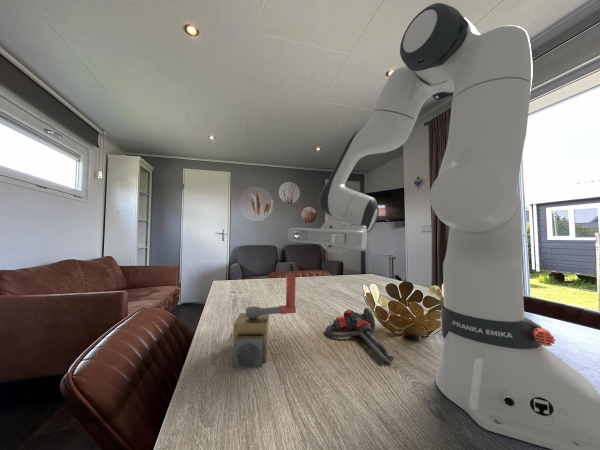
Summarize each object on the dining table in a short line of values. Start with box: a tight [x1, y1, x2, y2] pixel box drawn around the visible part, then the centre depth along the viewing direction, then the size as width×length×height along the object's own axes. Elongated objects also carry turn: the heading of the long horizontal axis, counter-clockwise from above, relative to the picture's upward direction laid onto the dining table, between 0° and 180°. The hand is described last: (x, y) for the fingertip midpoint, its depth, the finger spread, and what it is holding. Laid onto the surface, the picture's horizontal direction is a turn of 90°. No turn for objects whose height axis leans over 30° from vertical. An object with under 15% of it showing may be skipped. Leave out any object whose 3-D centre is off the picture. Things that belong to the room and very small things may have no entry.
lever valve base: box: [232, 312, 270, 369], centre depth 52 cm, size 11×7×8 cm, turn 4°
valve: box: [325, 307, 394, 363], centre depth 61 cm, size 6×26×15 cm
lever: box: [245, 272, 297, 318], centre depth 54 cm, size 12×3×9 cm, turn 109°
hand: (310, 236), depth 51 cm, fingers open, 8 cm apart
